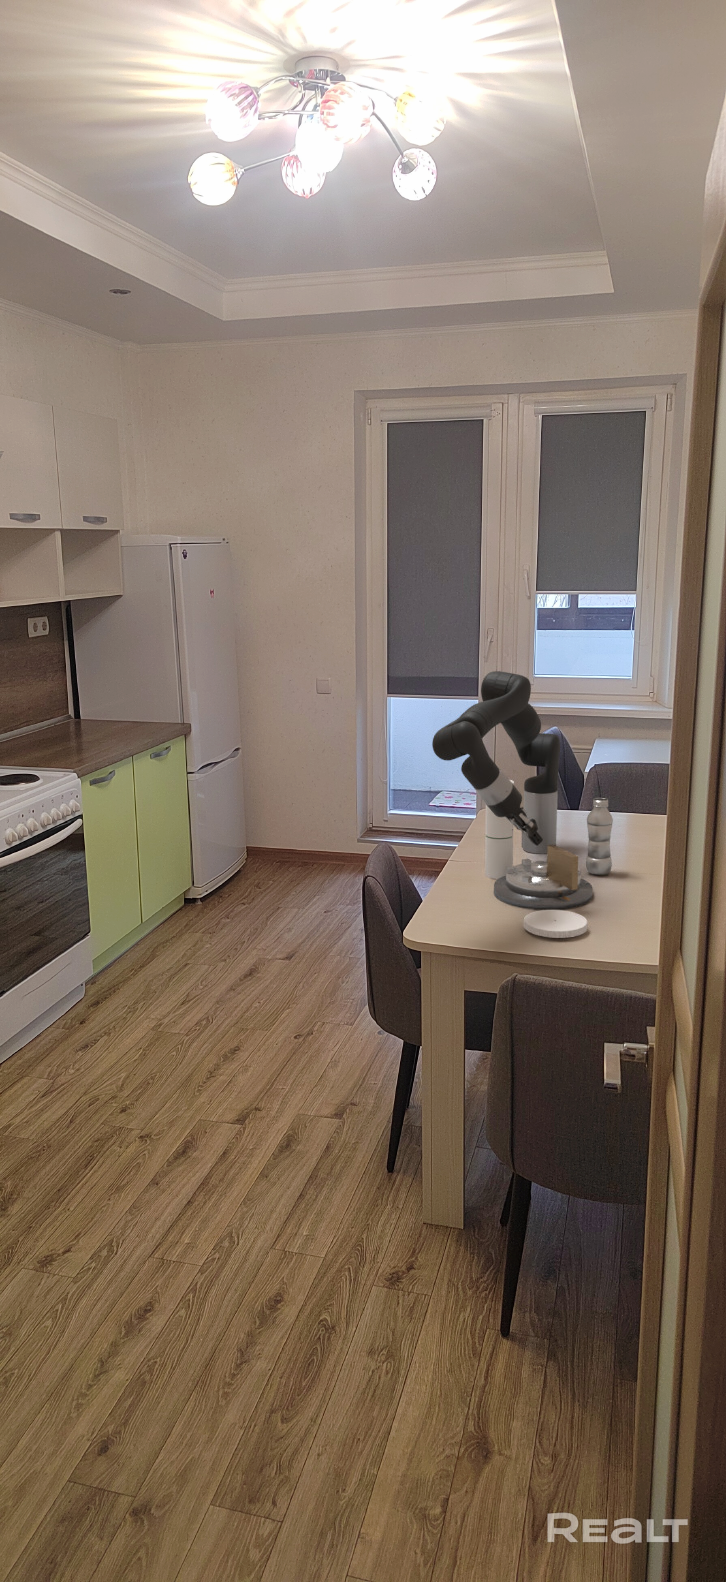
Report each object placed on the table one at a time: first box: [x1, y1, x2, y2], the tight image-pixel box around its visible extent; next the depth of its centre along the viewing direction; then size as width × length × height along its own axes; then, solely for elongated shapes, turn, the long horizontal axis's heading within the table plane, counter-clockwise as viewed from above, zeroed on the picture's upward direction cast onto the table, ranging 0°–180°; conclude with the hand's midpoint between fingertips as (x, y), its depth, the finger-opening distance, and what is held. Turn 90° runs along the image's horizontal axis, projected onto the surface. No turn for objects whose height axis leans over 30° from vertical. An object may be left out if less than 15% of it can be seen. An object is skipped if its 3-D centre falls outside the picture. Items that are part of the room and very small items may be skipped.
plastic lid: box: [523, 909, 588, 939], centre depth 233 cm, size 14×14×2 cm
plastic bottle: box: [585, 797, 614, 876], centre depth 269 cm, size 6×7×20 cm
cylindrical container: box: [484, 779, 515, 880], centre depth 270 cm, size 7×7×25 cm
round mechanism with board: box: [506, 845, 581, 897], centre depth 253 cm, size 23×18×11 cm
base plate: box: [493, 876, 594, 911], centre depth 257 cm, size 24×24×2 cm
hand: (538, 842), depth 240 cm, fingers closed
